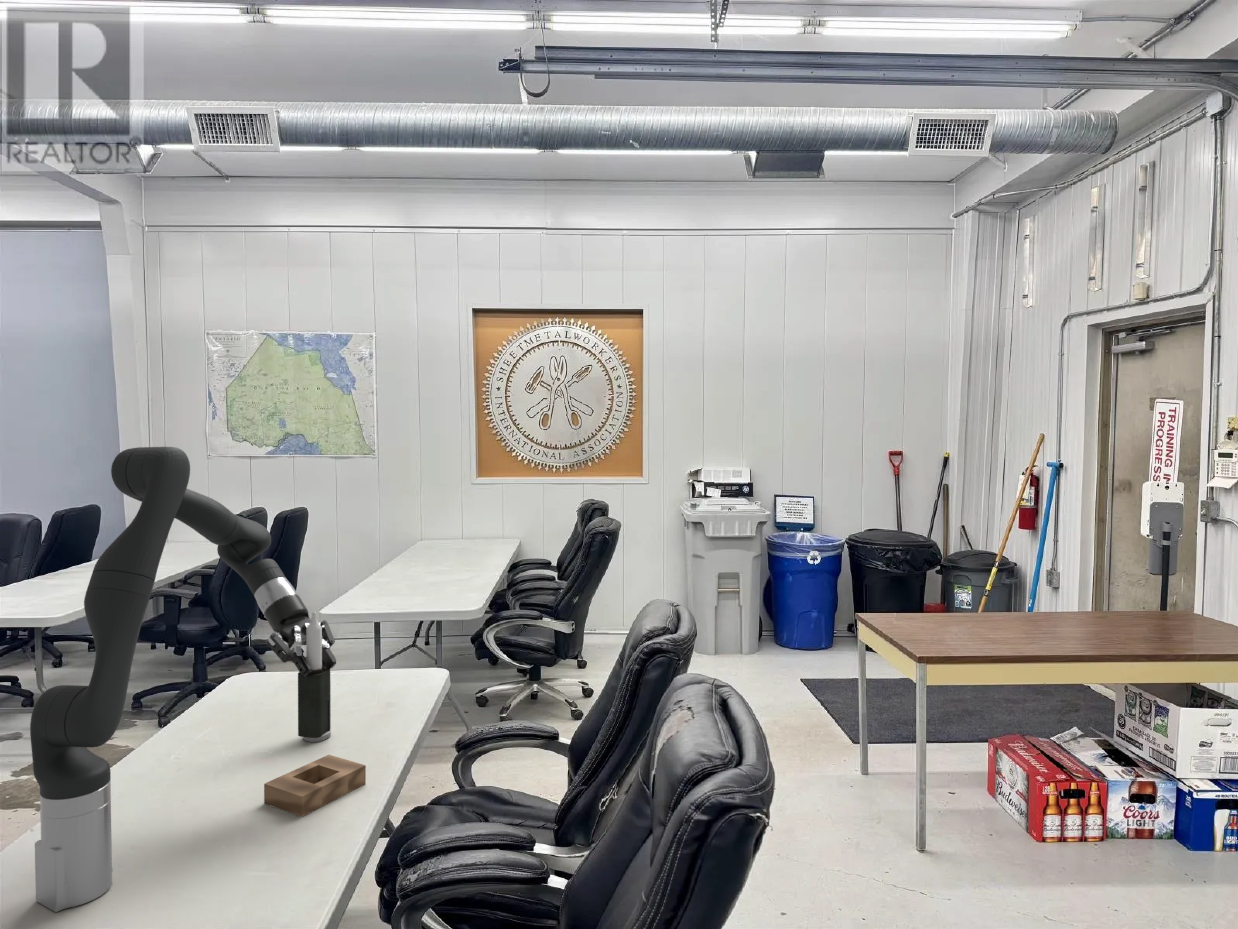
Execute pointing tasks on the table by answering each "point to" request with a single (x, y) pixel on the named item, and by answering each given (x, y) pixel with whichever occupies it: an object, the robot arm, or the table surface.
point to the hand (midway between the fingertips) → (320, 669)
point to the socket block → (314, 785)
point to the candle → (314, 687)
